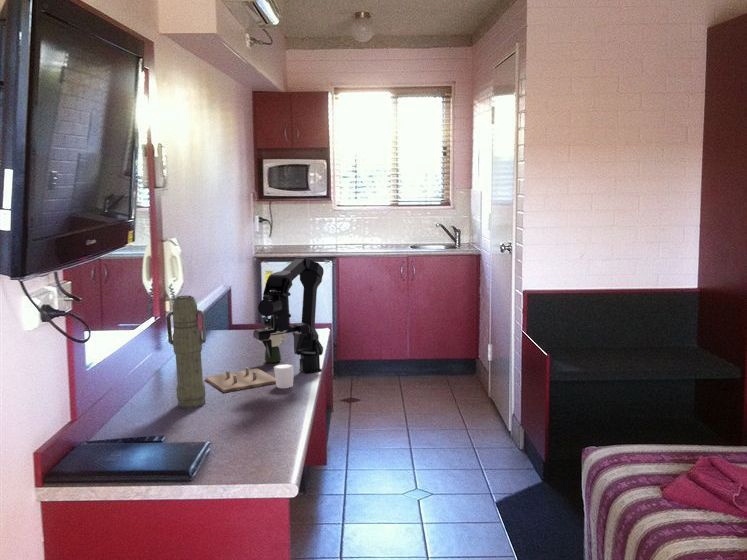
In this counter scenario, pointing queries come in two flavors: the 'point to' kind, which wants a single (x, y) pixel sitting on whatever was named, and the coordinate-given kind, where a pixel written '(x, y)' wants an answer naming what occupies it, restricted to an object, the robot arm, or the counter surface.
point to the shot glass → (284, 375)
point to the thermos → (187, 351)
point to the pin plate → (241, 379)
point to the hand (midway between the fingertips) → (283, 355)
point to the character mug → (274, 347)
